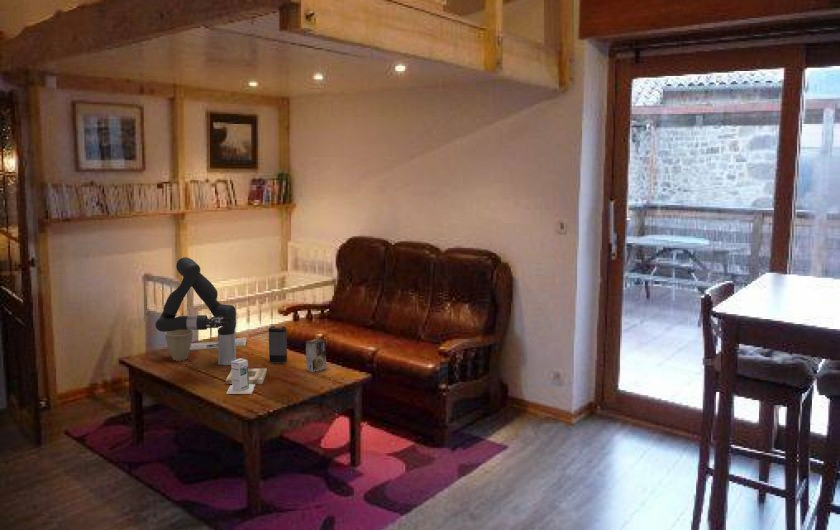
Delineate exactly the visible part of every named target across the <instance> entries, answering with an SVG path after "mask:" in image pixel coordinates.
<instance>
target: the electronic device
mask: <svg viewBox="0 0 840 530" xmlns="http://www.w3.org/2000/svg"><path fill="white" fill-rule="evenodd" d="M287 333H288V332H287V327H286V326H281V327H276V326H274V325H273V326H270V327H268V356H269V358H268V359H269V360H268V361H269V364H279V363H284V364H286V363H287V362H288V343H287V342H288V339H287V338H288V335H287Z"/></svg>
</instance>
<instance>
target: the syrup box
mask: <svg viewBox="0 0 840 530" xmlns="http://www.w3.org/2000/svg"><path fill="white" fill-rule="evenodd" d="M230 366H231V370H232V386H233V389H234V390H238V391H242V390H244V389H247V388H249V377H250V376H248V369H249V360H248V359H245V358H236V360H234V361H231V365H230Z"/></svg>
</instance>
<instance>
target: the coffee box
mask: <svg viewBox="0 0 840 530" xmlns="http://www.w3.org/2000/svg"><path fill="white" fill-rule="evenodd" d="M326 344H327V343H326V340H324V339H323V338H315V339H312V340H306V341H305V359H306V360H305V362H306V363H305V364H306V366H305V367H306V369H305V370H307V371H308V370H309V371H308V372H311V373H315V371H316V372H319V370H320V371H323V369H324V370H326V369H327V353H326V352H327V348H326V347H327V345H326Z"/></svg>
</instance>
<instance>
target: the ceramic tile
mask: <svg viewBox="0 0 840 530" xmlns="http://www.w3.org/2000/svg"><path fill="white" fill-rule="evenodd" d="M254 387H255V388H256V384H249V388H247V389H244V390H242V391H238V390H234V389H233V386H232V385H229V387H228V389H227V391H226V394H250V395H252V394H253V392H254V390H255V388H254ZM226 394H225V395H226Z"/></svg>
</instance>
